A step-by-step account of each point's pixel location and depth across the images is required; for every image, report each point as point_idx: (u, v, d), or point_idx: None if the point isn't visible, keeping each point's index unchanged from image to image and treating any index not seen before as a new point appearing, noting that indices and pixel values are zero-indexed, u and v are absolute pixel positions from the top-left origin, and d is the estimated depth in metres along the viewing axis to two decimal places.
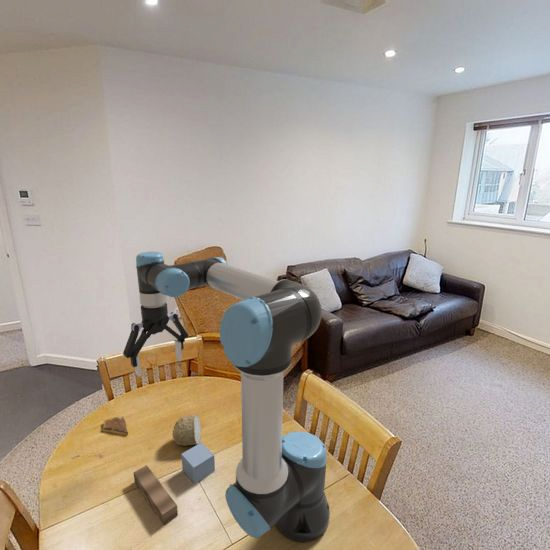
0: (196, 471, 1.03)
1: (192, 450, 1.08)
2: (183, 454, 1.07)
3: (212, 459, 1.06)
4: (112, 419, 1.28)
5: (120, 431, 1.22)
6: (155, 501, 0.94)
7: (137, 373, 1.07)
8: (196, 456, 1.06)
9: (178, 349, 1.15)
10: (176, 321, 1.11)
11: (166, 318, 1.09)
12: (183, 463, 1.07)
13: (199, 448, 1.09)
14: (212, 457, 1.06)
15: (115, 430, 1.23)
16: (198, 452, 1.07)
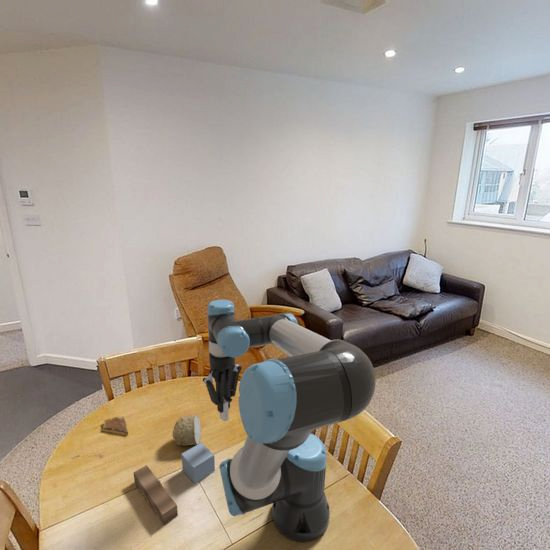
0: (196, 471, 1.03)
1: (192, 450, 1.08)
2: (183, 454, 1.07)
3: (212, 459, 1.06)
4: (112, 419, 1.28)
5: (120, 431, 1.22)
6: (155, 501, 0.94)
7: (222, 418, 1.11)
8: (196, 456, 1.06)
9: None
10: (237, 373, 1.09)
11: (233, 365, 1.08)
12: (183, 463, 1.07)
13: (199, 448, 1.09)
14: (212, 457, 1.06)
15: (115, 430, 1.23)
16: (198, 452, 1.07)
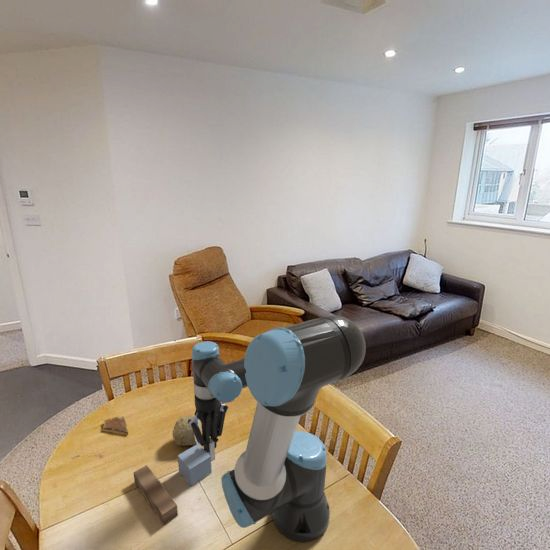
0: (192, 472, 1.02)
1: (188, 452, 1.07)
2: (179, 455, 1.06)
3: (208, 460, 1.06)
4: (112, 419, 1.28)
5: (120, 431, 1.22)
6: (155, 501, 0.94)
7: None
8: (192, 457, 1.05)
9: None
10: (223, 413, 1.09)
11: (219, 405, 1.07)
12: (179, 465, 1.06)
13: (195, 449, 1.08)
14: (209, 459, 1.06)
15: (115, 430, 1.23)
16: (194, 453, 1.07)
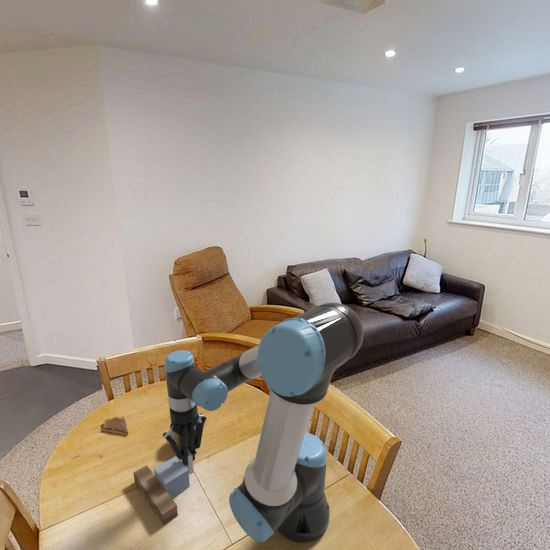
0: (169, 487, 0.97)
1: (165, 464, 1.02)
2: (156, 469, 1.01)
3: (186, 474, 1.01)
4: (112, 419, 1.28)
5: (120, 431, 1.22)
6: (155, 501, 0.94)
7: None
8: (169, 471, 1.00)
9: None
10: (201, 425, 1.04)
11: (197, 416, 1.02)
12: None
13: (173, 462, 1.03)
14: (187, 472, 1.01)
15: (115, 430, 1.23)
16: (171, 466, 1.02)
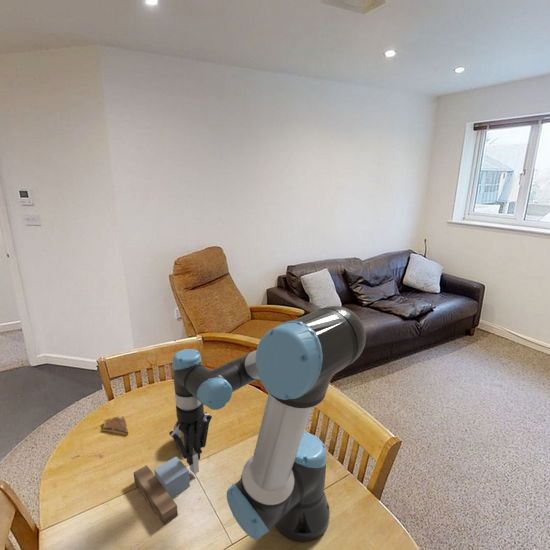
0: (169, 487, 0.97)
1: (166, 465, 1.03)
2: (156, 469, 1.01)
3: (186, 474, 1.01)
4: (112, 419, 1.28)
5: (120, 431, 1.23)
6: (155, 501, 0.94)
7: (192, 470, 1.06)
8: (169, 471, 1.00)
9: None
10: (207, 423, 1.05)
11: (202, 415, 1.03)
12: None
13: (173, 462, 1.03)
14: (187, 473, 1.01)
15: (115, 430, 1.23)
16: (171, 467, 1.02)
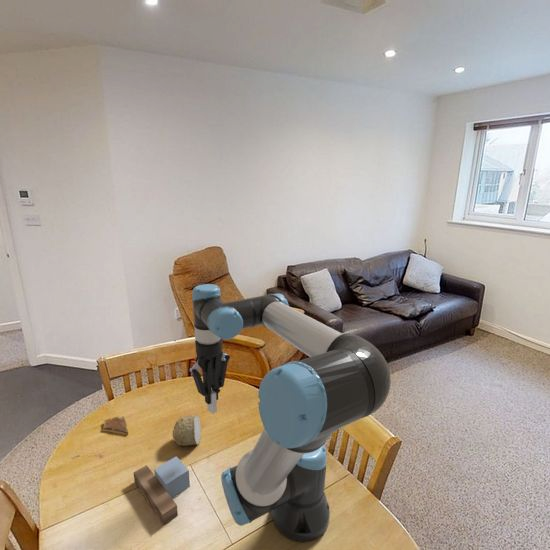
0: (169, 487, 0.97)
1: (166, 465, 1.03)
2: (156, 469, 1.01)
3: (186, 474, 1.01)
4: (112, 419, 1.28)
5: (120, 431, 1.23)
6: (155, 501, 0.94)
7: (210, 410, 1.05)
8: (169, 471, 1.00)
9: None
10: (225, 363, 1.05)
11: (221, 353, 1.03)
12: None
13: (173, 462, 1.03)
14: (187, 473, 1.01)
15: (115, 430, 1.23)
16: (171, 467, 1.02)
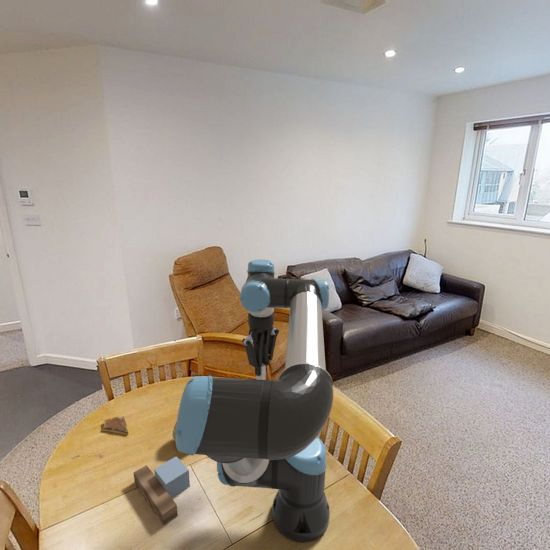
0: (169, 487, 0.97)
1: (166, 465, 1.03)
2: (156, 469, 1.01)
3: (186, 474, 1.01)
4: (112, 419, 1.28)
5: (120, 431, 1.23)
6: (155, 501, 0.94)
7: None
8: (169, 471, 1.00)
9: None
10: (274, 336, 1.09)
11: (271, 327, 1.07)
12: None
13: (173, 462, 1.03)
14: (187, 473, 1.01)
15: (115, 430, 1.23)
16: (171, 467, 1.02)
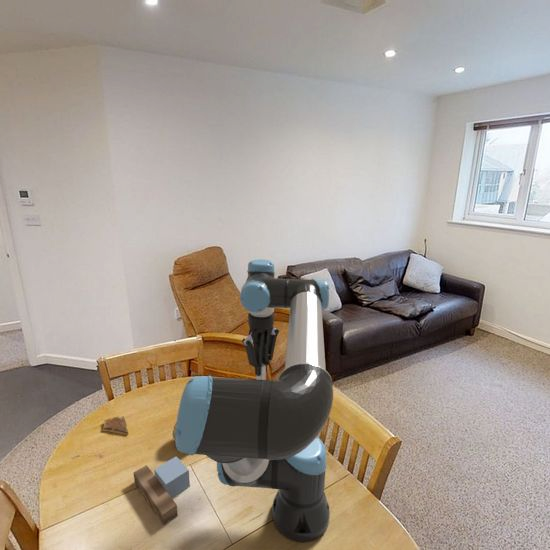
0: (169, 487, 0.97)
1: (166, 465, 1.03)
2: (156, 469, 1.01)
3: (186, 474, 1.01)
4: (112, 419, 1.28)
5: (120, 431, 1.23)
6: (155, 501, 0.94)
7: None
8: (169, 471, 1.00)
9: None
10: (274, 336, 1.09)
11: (271, 327, 1.07)
12: None
13: (173, 462, 1.03)
14: (187, 473, 1.01)
15: (115, 430, 1.23)
16: (171, 467, 1.02)
